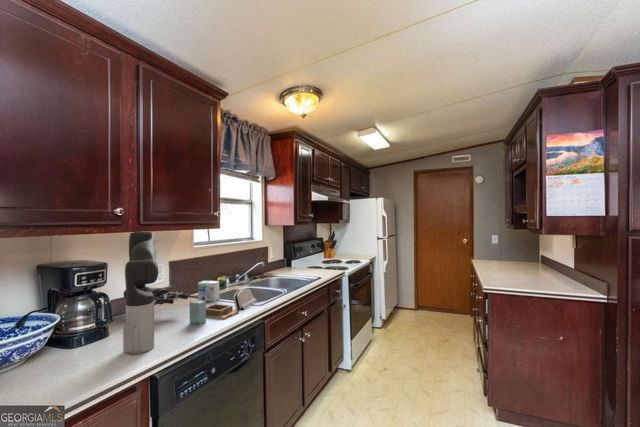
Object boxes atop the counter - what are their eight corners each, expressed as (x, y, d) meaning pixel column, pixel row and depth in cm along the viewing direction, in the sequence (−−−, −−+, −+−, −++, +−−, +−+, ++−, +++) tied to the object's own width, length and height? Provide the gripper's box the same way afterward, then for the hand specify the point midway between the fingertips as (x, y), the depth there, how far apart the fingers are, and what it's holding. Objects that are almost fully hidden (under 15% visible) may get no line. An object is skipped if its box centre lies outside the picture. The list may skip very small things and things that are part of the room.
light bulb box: (197, 301, 183) (197, 282, 183) (203, 298, 190) (203, 280, 190) (214, 301, 182) (214, 283, 182) (219, 298, 188) (219, 280, 188)
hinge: (244, 310, 164) (238, 292, 164) (236, 312, 164) (230, 294, 165) (257, 301, 180) (251, 285, 181) (250, 303, 181) (244, 287, 182)
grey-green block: (199, 325, 141) (199, 303, 141) (189, 323, 143) (189, 302, 144) (205, 322, 145) (205, 301, 145) (196, 320, 147) (196, 299, 147)
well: (223, 319, 149) (223, 312, 149) (195, 315, 156) (195, 308, 156) (238, 312, 159) (238, 306, 159) (211, 309, 166) (211, 302, 166)
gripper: (143, 291, 149) (167, 295, 142) (169, 285, 162) (191, 288, 155) (143, 307, 149) (167, 311, 143) (169, 299, 162) (192, 303, 156)
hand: (180, 299), depth 149 cm, fingers open, 8 cm apart
